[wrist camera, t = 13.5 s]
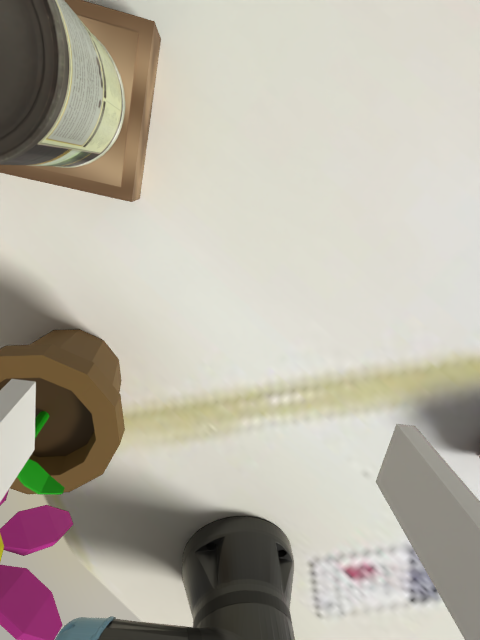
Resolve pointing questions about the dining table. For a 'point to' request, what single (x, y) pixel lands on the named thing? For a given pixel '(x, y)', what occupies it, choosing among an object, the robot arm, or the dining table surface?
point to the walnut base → (138, 82)
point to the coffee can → (55, 87)
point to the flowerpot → (56, 458)
